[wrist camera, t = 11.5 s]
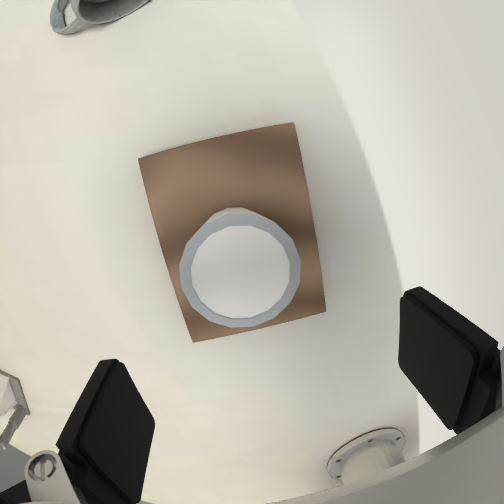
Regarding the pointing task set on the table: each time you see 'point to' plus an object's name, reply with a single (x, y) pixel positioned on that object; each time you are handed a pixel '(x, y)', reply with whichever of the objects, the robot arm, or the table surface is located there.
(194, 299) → the white short cylinder
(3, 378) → the skyscraper
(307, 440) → the table surface
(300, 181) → the walnut board
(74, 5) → the ceramic mug
